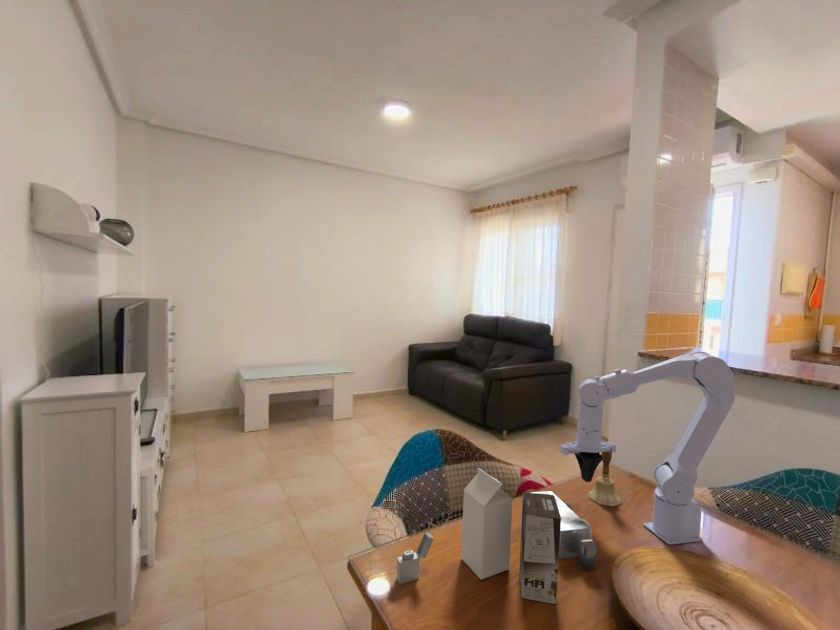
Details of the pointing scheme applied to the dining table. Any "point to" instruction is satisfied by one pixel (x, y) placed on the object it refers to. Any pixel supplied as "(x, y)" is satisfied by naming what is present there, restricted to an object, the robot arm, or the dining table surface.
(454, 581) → the dining table surface
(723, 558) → the dining table surface
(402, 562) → the lighter
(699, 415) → the robot arm
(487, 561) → the milk carton
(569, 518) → the mount
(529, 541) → the coffee box
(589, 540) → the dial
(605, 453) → the hand bell
